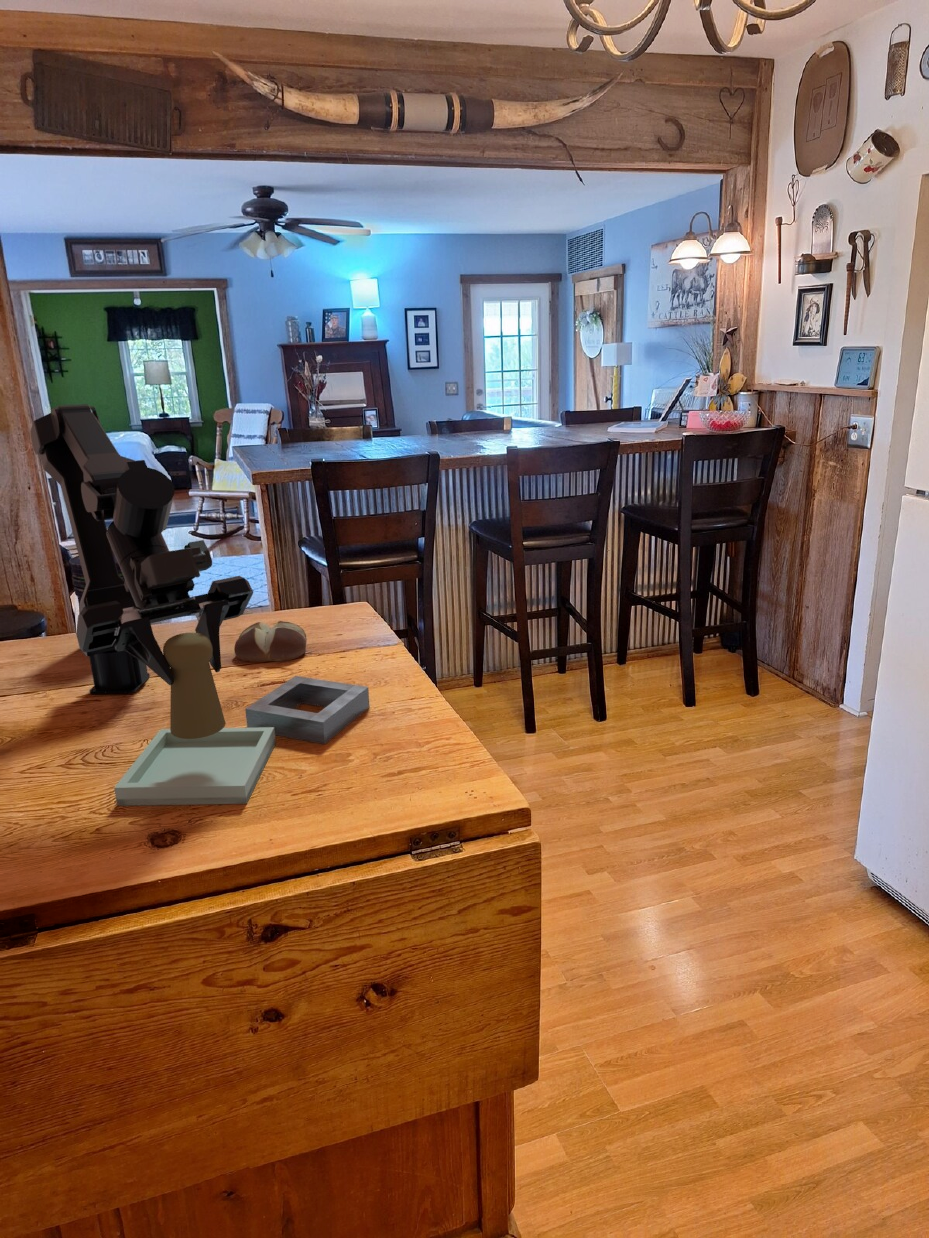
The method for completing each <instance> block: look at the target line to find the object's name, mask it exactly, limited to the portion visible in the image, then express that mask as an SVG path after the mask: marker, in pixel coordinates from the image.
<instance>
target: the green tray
mask: <svg viewBox="0 0 929 1238" xmlns="http://www.w3.org/2000/svg"><path fill="white" fill-rule="evenodd" d="M276 744H277V743H276V735H275V730H274V727H258V728H247V727H224V728H223V729H222V730H220V731H219V732H217V733H215V734H213V735H210V736H207V737H202V738H197V739H183V738H178V737H175V736H173V735H172V734H171V730H170V728H160V729H159V730H158V732H157V733H156V735H155V736H154V737H153V738H152V739H151V740H150V742H149V743H148V745H147V746H145V748H144V750H142V752H141V753H140V755H139V756H138V757H137V758H136V759H135V761H134V762H133V763H132V765H130V767H129V769H127V771H126V772H125V773H124V774H123V775H122V777H121V778H120V780H118V782H117V783H116V784H115V786H114V787H113V789H114V795H115V801H116V806H118V807H119V806H120V807H122V806H124V807H126V806H130V807H131V806H177V805H178V806H187V805H193V806H194V805H246V804H248V802H249V801H250V798H251V796H252V794H253V792H254V790H255V788H256V785H257V784H258V781H259V779H260V777H261V776H262V773H263V770H264V769H265V767H266V765H267V762H268V760H269V759H270V756H271V754H272V752H273V750H274V748H275V746H276Z"/></svg>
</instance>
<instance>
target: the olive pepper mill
mask: <svg viewBox="0 0 929 1238" xmlns="http://www.w3.org/2000/svg"><path fill="white" fill-rule="evenodd" d="M162 653H163V655H164V657H165V659H166V661H167V663H168V664H169V666H170V669H171V672H172V674H173V677H174V683H173V685H170V710H169V711H170V716H169V717H170V720H169V721H170V728H169V729H170V730H171V734H172V735H173V736H175V737H178V738H183V739H197V738H202V737H207V736H210V735H213V734H215V733H217V732H219V731H220V730H222V729H223V728H225V726H226V720H225V716H224V712H223V708H222V705H221V702H220V698H219V694H218V690H217V687H216V684H215V680H214V676H213V672H212V668H211V664H210V662H209V661H210V659H211V658H212V654H213V648H212V644H211V642H210V639H209V638H208V637H207V636H205V635H203V634H200V633H196V632H184V633H183V632H182V633H178V634H175V635H173V636H171V637H169V638H168V639H167V640H166V641H165V643H164V645H163V648H162Z"/></svg>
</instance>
